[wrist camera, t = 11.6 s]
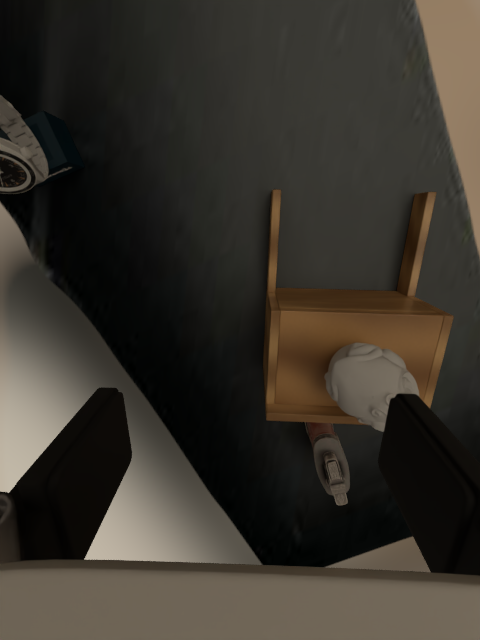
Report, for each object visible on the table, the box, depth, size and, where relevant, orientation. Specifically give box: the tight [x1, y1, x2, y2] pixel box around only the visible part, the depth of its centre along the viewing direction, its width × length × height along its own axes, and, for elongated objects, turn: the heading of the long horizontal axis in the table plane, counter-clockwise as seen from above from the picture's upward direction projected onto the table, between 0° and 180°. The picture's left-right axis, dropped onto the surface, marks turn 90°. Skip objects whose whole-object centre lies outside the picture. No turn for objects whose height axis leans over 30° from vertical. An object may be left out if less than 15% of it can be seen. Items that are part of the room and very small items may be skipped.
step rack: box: [263, 189, 454, 425], centre depth 29 cm, size 20×15×10 cm
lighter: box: [305, 422, 350, 505], centre depth 35 cm, size 8×3×10 cm, turn 17°
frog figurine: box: [324, 343, 419, 432], centre depth 23 cm, size 6×7×7 cm
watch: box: [0, 95, 85, 194], centre depth 26 cm, size 6×8×11 cm
